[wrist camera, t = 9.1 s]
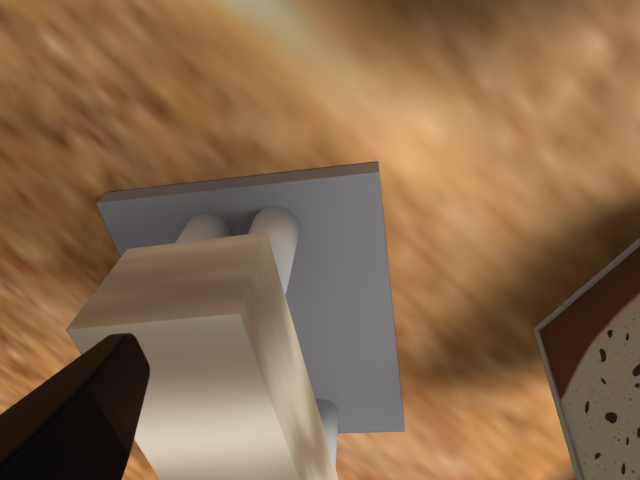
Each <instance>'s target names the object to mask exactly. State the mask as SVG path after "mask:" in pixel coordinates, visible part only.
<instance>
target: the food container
mask: <svg viewBox="0 0 640 480" xmlns="http://www.w3.org/2000/svg"><path fill="white" fill-rule="evenodd" d="M533 331H534V334H535V337H536V341H537V344H538V348H539V351H540V355H541V358H542V362H543V365H544V368H545V372H546V375H547V379H548V382H549V386H550V389H551V392H552V396H553V399H554V403H555V406H556V410H557V413H558V417H559V420H560V423H561V427H562V430H563V434H564V437H565V441H566V444H567V447H568V451H569V454H570V458H571V461H572V465H573V468H574V472H575V475H576V478H577V480H640V238H638V239H637V240H636V241H635V242H634V243H633V244H631V245H630V246H629V247H628V248H627V249H626V250H624V251H623V252H622V253H621V254H620V255H619V256H617V257H616V258H615V259H614V260H613V261H612V262H610V263H609V264H608V265H607V266H606V267H605V268H603V269H602V270H601V271H600V272H599V273H598V274H596V275H595V276H594V277H593V278H592V279H591V280H589V281H588V282H587V283H586V284H585V285H584V286H582V287H581V288H580V289H579V290H578V291H577V292H575V293H574V294H573V295H572V296H571V297H570V298H568V299H567V300H566V301H565V302H564V303H563V304H561V305H560V306H559V307H558V308H557V309H556V310H554V311H553V312H552V313H551V314H550V315H549V316H547V317H546V318H545V319H544V320H543V321H542V322H540V323H539V324H538V325H537V326H536V327H535V328H533Z"/></svg>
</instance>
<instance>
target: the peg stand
mask: <svg viewBox="0 0 640 480" xmlns="http://www.w3.org/2000/svg"><path fill="white" fill-rule="evenodd" d="M96 205H97V207H98V209H99V211H100V213H101V215H102V218H103V220H104V222H105V224H106V226H107V229H108V231H109V233H110V235H111V237H112V239H113V242H114V244H115V246H116V248H117V250H118V253H119V255H120V257H122V255H123V254H124V253H125V251H126V250H127V249H131V248H139V247H148V246H156V245H164V244H172V243H180V242H188V241H196V240H205V239H213V238H221V237H229V236H237V235H245V234H253V233H262V232H267V235H268V238H269V242H270V245H271V249H272V252H273V256H274V259H275V263H276V266H277V269H278V273H279V276H280V280H281V283H282V287H283V290H284V294H285V297H286V300H287V304H288V307H289V311H290V314H291V318H292V321H293V325H294V328H295V331H296V335H297V338H298V342H299V345H300V349H301V352H302V356H303V359H304V362H305V366H306V369H307V373H308V376H309V380H310V383H311V387H312V390H313V394H314V397H315V400H316V404H317V407H318V411H319V414H320V418H321V421H322V425H323V428H324V431H325V435H326V438H327V442H328V445H329V449H330V452H331V456H332V459H333V462H334V466H336V448H337V433H367V432H403V431H405V428H404V416H403V406H402V395H401V385H400V375H399V365H398V355H397V345H396V335H395V325H394V315H393V305H392V295H391V285H390V275H389V265H388V255H387V245H386V235H385V224H384V214H383V204H382V194H381V184H380V174H379V164H378V162H371V163H362V164H353V165H345V166H336V167H327V168H318V169H309V170H300V171H292V172H283V173H274V174H265V175H256V176H247V177H239V178H230V179H221V180H212V181H203V182H195V183H186V184H177V185H168V186H159V187H150V188H142V189H133V190H124V191H115V192H107V193H106V194H105V195H104V196H103V197H102V198H101V199H100V200H99V201H98V202H97V203H96Z"/></svg>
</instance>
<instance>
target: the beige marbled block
mask: <svg viewBox="0 0 640 480" xmlns="http://www.w3.org/2000/svg"><path fill="white" fill-rule="evenodd" d="M66 331H67V332H68V334H69V336H70V337H71V339H72V340H73V342H74V343H75V345H76V347H77V348H78V350H79V351H80V353H81V355H82V354H84V353H85V352H86V351H88V350H89V349H90V348H92V347H93V346H94V345H96V344H97V343H99V342H100V341H101V340H103V339H104V338H105V337H107V336H108V335H111V334H119V333H131V334H133V335H134V336H136V338H137V340H138V342H139V344H140V346H141V348H142V350H143V352H144V354H145V356H146V358H147V360H148V363H149V366H150V377H149V382H148V386H147V390H146V394H145V398H144V402H143V406H142V410H141V414H140V418H139V422H138V426H137V430H136V434H135V438H134V439H135V441H136V442H137V444H138V445H139V447H140V449H141V450H142V452H143V453H144V455H145V456H146V458H147V460H148V461H149V463H150V464H151V466H152V468H153V469H154V471H155V472H156V474H157V476H158V477H159V479H160V480H338V476H337V473H336V469H335V466H334V462H333V459H332V456H331V452H330V449H329V445H328V442H327V438H326V435H325V431H324V428H323V425H322V421H321V418H320V414H319V411H318V407H317V404H316V400H315V397H314V394H313V390H312V387H311V383H310V380H309V376H308V373H307V369H306V366H305V362H304V359H303V356H302V352H301V349H300V345H299V342H298V338H297V335H296V331H295V328H294V325H293V321H292V318H291V314H290V311H289V307H288V304H287V300H286V297H285V294H284V290H283V287H282V283H281V280H280V276H279V273H278V269H277V266H276V263H275V259H274V256H273V252H272V249H271V245H270V242H269V238H268V235H267V232H262V233H253V234H245V235H237V236H229V237H221V238H213V239H205V240H196V241H188V242H180V243H172V244H164V245H156V246H148V247H139V248H131V249H127V250H126V251H125V253H124V254H123V255H122V257H121V258H120V259H119V261H118V262H117V263H116V265H115V266H114V267H113V268H112V270H111V271H110V272H109V274H108V275H107V276H106V278H105V279H104V280H103V282H102V283H101V284H100V286H99V287H98V288H97V290H96V291H95V292H94V293H93V295H92V296H91V297H90V299H89V300H88V301H87V303H86V304H85V305H84V307H83V308H82V309H81V311H80V312H79V313H78V315H77V316H76V317H75V319H74V320H73V321H72V322H71V324H70V325H69V326H68V328H67V329H66Z"/></svg>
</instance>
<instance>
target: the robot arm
mask: <svg viewBox="0 0 640 480" xmlns="http://www.w3.org/2000/svg"><path fill="white" fill-rule="evenodd" d="M149 377H150V366H149V363H148V360H147V358H146V356H145V354H144V352H143V350H142V348H141V346H140V344H139V342H138V340H137V338H136V336H134V335H133V334H131V333H119V334H111V335H108V336H107V337H105V338H104V339H103V340H101V341H100V342H99V343H97V344H96V345H94V346H93V347H92V348H90V349H89V350H88V351H86V352H85V353H84V354H82V355H81V356H80V357H78V358H77V359H75V360H74V361H73V362H71V363H70V364H69V365H67V366H66V367H65V368H63V369H62V370H60V371H59V372H58V373H56V374H55V375H54V376H52V377H51V378H50V379H48V380H47V381H46V382H44V383H43V384H41V385H40V386H39V387H37V388H36V389H35V390H33V391H32V392H31V393H29V394H28V395H26V396H25V397H24V398H22V399H21V400H20V401H18V402H17V403H16V404H14V405H13V406H12V407H10V408H9V409H7V410H6V411H5V412H3V413H2V414H1V415H0V480H121V479H122V476H123V474H124V471H125V468H126V465H127V462H128V459H129V456H130V452H131V449H132V445H133V442H134V438H135V434H136V430H137V426H138V422H139V418H140V414H141V410H142V406H143V402H144V398H145V394H146V390H147V386H148V382H149Z"/></svg>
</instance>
